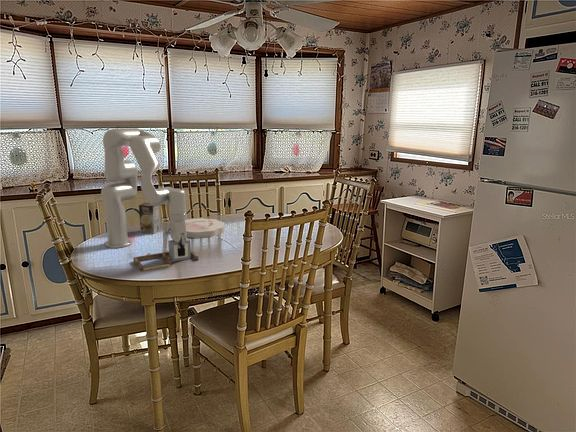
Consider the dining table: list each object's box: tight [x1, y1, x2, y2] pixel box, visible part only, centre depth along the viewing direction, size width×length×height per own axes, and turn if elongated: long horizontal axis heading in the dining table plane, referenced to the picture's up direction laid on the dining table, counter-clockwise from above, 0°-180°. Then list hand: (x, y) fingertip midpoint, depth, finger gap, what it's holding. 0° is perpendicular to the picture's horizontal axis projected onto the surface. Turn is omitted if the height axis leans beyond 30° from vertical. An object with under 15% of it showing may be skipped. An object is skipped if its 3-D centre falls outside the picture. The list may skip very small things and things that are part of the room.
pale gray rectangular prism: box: [167, 237, 192, 263], centre depth 188 cm, size 4×9×9 cm, turn 123°
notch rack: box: [133, 250, 200, 272], centre depth 186 cm, size 14×26×3 cm, turn 123°
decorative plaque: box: [185, 217, 226, 239], centre depth 236 cm, size 30×4×30 cm
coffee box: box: [138, 202, 161, 235], centre depth 229 cm, size 9×6×16 cm
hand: (179, 254), depth 189 cm, fingers closed on pale gray rectangular prism, 4 cm apart
